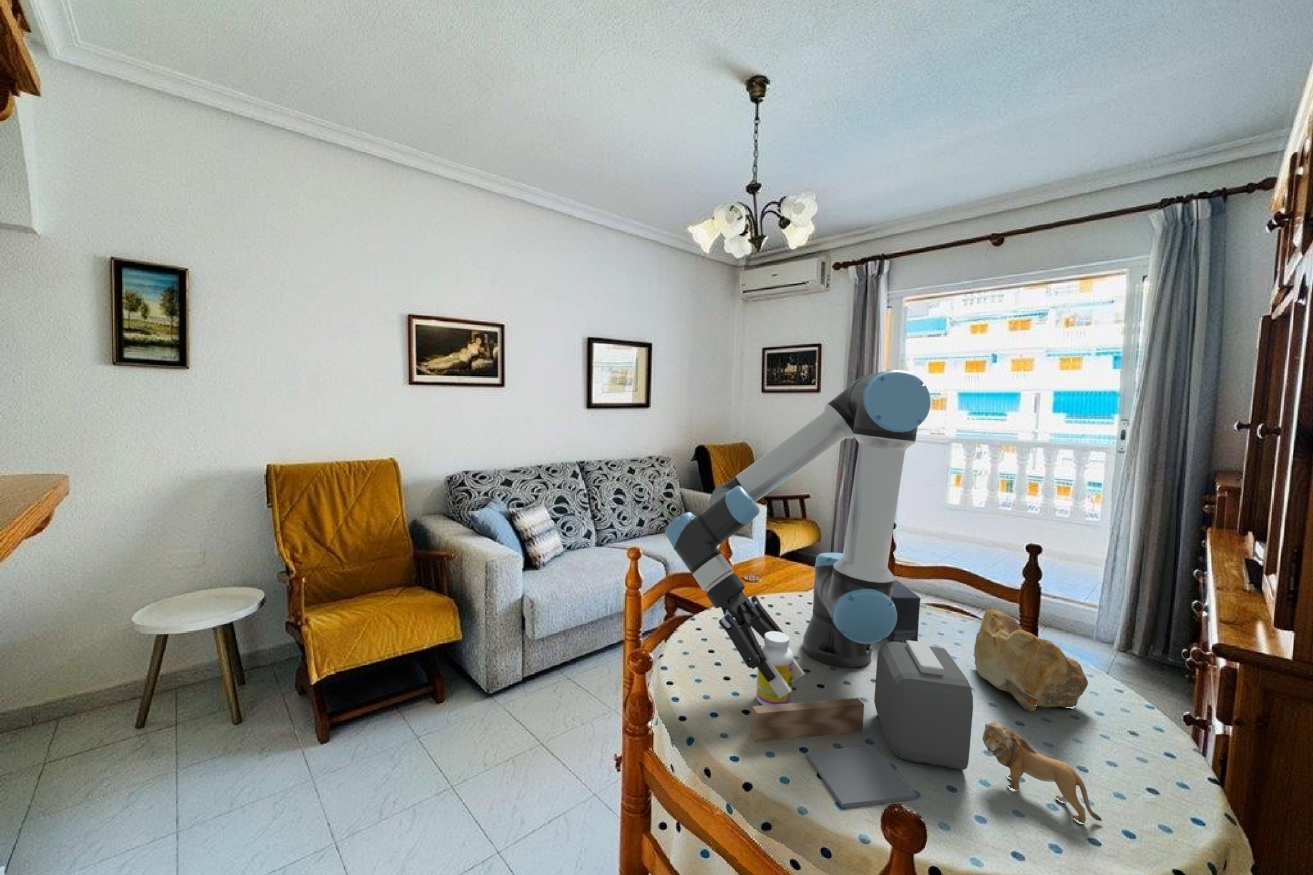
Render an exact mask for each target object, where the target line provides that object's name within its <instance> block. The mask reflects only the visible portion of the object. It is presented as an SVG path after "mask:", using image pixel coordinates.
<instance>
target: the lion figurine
mask: <svg viewBox="0 0 1313 875" xmlns="http://www.w3.org/2000/svg"><path fill="white" fill-rule="evenodd" d="M982 742H983V744H984V746H985V748H986V749H987V752H988V753H990V754H991V755H992V756H994V757H995V758H996V761H997V762H998V763H999V764H1001V765H1002V766H1004V767H1007V768H1009V773H1010V774H1008V775H1009V776H1008V777H1010V778H1011V779H1012V781H1011V785H1008V784H1007V785H1008V786H1009V787H1010V788H1013V789H1015V790H1019V789H1020V780H1021V778H1022V776H1023V775H1024V773H1025V774H1026V775H1028V776H1030V777H1032V778H1033V779H1036V780H1038V781H1042V782H1045V783H1046V782H1047V783H1048V782H1049V783H1051V782H1053V783H1055V784H1056V786H1057V789H1058V790H1059V792H1060V793H1061V795H1062V796H1061V795H1055V797H1056V798H1058V799H1059V800H1060V801H1063V802H1065V804H1067V803H1068V804H1070V806H1071V807H1072V808H1073V809H1074V810H1075V811H1076V813H1077V814H1078V815H1077V814H1075V815H1073V816H1072V819H1073V818H1075V819H1076V820H1078V821H1079V822H1082V823H1084V824H1085V823H1086V819H1087V818H1086V811H1085V808H1086V810H1087V812H1088V813H1089V815H1090V816H1091V817H1092V818H1093V819H1094V820H1096V821H1099V822H1102V820H1103V819H1102V817H1101V816H1100V815H1098V814H1097V813H1095V812H1093V810H1092V809H1091V806H1090V800H1089V795H1088V791H1087V789H1086V785H1085V783H1084V781H1083V779H1082V778H1081V776H1080V775H1079V774H1078V773H1077V771H1076V770H1075V769H1074V768H1073V767H1071V766H1070V765H1069V764H1068V763H1066V762H1064V761H1062V760H1057V759H1054V758H1051V757H1047V756H1045V755H1043V754H1041V753H1039V752H1036V751H1035V750H1034V749H1033V748H1031V746H1030V744H1029V743H1028V742H1027V741H1026V740H1025V739H1024V738H1022V737H1020V735H1019V734H1016V733H1015V731H1014V730H1012V729H1010V728H1009V727H1007V726H1006V725H1004V724H1001V723H1000V722H998V723H997V722H995V721H994V722H990V723H988V724H987V723H985V724H984V730H983V734H982ZM1077 786H1078V787H1079V789H1080V792H1081V796H1082V798H1083V802H1084V805H1085V807H1084V806H1083V804H1081V803H1080V800H1079V798H1078V796H1077Z"/></svg>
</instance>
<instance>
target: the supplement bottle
mask: <svg viewBox="0 0 1313 875" xmlns="http://www.w3.org/2000/svg"><path fill="white" fill-rule="evenodd" d="M763 641H764V644H763V645H761V646H760V647H761V650H762V652H763V654H764V656H765V658H766V660H767V659H770V660H771V662H772V663H773V665H774V666H775V667H776V669H777V670H778V672H779V673H780V674H781V676H782V677H783V679H784V680H785V682H786V683H787V684H788V686H789V687H790V689H791V690H792V691H791V692H790V693H788V694H787V695H785V696H783V697H782V698H780V699H779V697H778V696H777V694H776V693H775V691H774V690H773V688H772V687H771V685H770V684H769V683H768V681H767V680H766V679H765V677H764V676H763V675H762V673H761V672H760V670H759V669H758V668H757V670H756V671H757V672H756V674H757V675H756V691H755V692H756V693H755V696H756V699H757V701H758V702H759V703H760V704H761V706H762V705H775V704H788V703H792V693H793V680H792V678H793V660H794V659H795V658H794V653H793V651H792V650H791V649H790V648H789V646H790V636H789V635H787V633H784V632H783V633H781V632H777V631H770V632H767V633H765V636H764V639H763Z"/></svg>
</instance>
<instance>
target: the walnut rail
mask: <svg viewBox="0 0 1313 875" xmlns="http://www.w3.org/2000/svg"><path fill="white" fill-rule="evenodd" d="M864 712H865V703H863V701H862V700H861V699H859V698H858V697H854V698H853V697H851V698H841V699H828V700H815V701H804V702H802V701H800V702H791V703H788V704H775V705H762V704H761V705H753V706H752V712H751V726H750V727H751V730H750V735H751V736H752V739H754V742H763V741H774V740H784V739H785V740H786V739H797V738H807V737H808V738H810V737H819V736H828V735H831V736H832V735H840V734H841V735H842V734H851V733H862V732H863V728H864V727H863V726H864V716H865V715H864Z"/></svg>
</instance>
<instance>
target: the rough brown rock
mask: <svg viewBox="0 0 1313 875" xmlns="http://www.w3.org/2000/svg"><path fill="white" fill-rule="evenodd" d="M973 649H974V650H973V656H974V665H975V669H976V671H977V674H978V675H979V676H980V677H981V678H982V679H984V680H987V681H988V682H989V683H990V684H991V685H993V687H994V688H996V689H998V690H1001V691H1003V692H1007V693H1009V694H1010V695H1012V696H1013V698H1014V699H1015V700H1016V701H1017V703H1018V704H1019V706H1021V707H1022V708H1023V709H1024V710H1025V709H1026V710H1028V711H1027V712H1034V711H1036V710H1037V709H1036V708H1037V706H1043V707H1042V708H1051V707H1054V708H1056V707H1062V708H1064V707H1065V708H1064V709H1066V707H1073V706H1076V705H1077V706H1078V701H1079V699H1080V697H1081V696H1082V695H1083V694H1084V693H1085V690H1086V689H1087V687H1088V686H1089V681H1088V678H1087V677H1086V674H1085V672H1084V671H1083V668H1082V665H1081V664H1080V663H1079V662H1078V661H1077V660H1075V659H1072V658H1070V657H1068V656H1066V655H1065V654H1064V652H1063V651H1062V649H1061V647H1059V646H1058V645H1056V644H1054V642H1052V641H1051V640H1049V639H1046V638H1041V637H1038V636H1036V635H1035V634H1033V633H1031V632H1029V631H1026V630H1024V629H1023V628H1022V626H1021V625H1020V624H1019V623H1018V622H1017V621H1016V619H1015V618H1014V617H1012V616H1011V615H1008V614H1007V613H1004V612H1002V611H1001V610H997V609H994V608H988V609H985V612H984V614H983V617H982V620H981V624H980V629H979V631H978V632H977V633H976V637H975V644H974V648H973ZM1036 705H1037V706H1036ZM1077 706H1076V707H1077ZM1026 710H1025V711H1026ZM1033 710H1034V711H1033Z"/></svg>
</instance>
